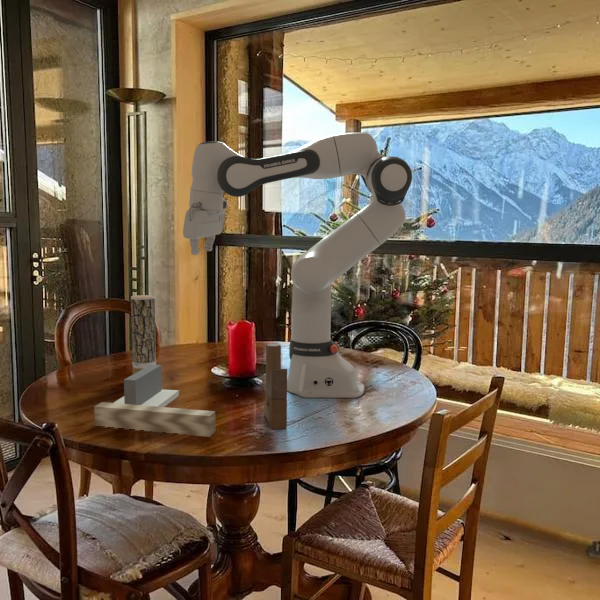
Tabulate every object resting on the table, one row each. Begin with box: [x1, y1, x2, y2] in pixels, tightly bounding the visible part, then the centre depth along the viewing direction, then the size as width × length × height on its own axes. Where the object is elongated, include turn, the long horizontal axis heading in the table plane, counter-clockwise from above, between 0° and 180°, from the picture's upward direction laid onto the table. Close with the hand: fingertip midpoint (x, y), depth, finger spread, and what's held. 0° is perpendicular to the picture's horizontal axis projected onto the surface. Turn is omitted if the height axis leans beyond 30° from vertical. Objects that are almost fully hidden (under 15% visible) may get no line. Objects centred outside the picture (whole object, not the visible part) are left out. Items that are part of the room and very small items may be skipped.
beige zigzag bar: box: [93, 401, 216, 438], centre depth 135 cm, size 28×4×5 cm, turn 78°
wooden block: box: [263, 343, 288, 431], centre depth 140 cm, size 4×11×18 cm, turn 12°
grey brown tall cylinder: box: [130, 294, 157, 375], centre depth 176 cm, size 7×7×25 cm
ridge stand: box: [113, 364, 180, 407], centre depth 153 cm, size 12×18×8 cm, turn 171°
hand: (201, 252), depth 164 cm, fingers open, 8 cm apart
